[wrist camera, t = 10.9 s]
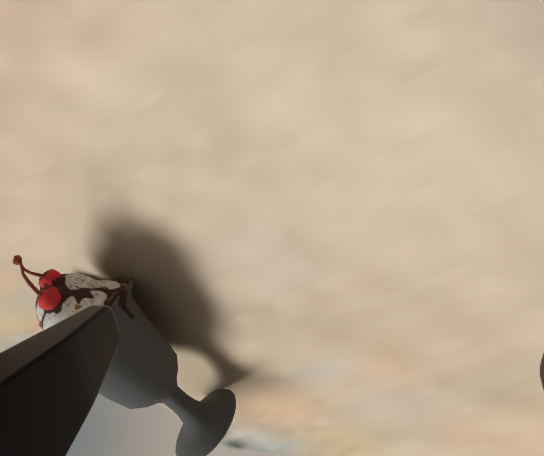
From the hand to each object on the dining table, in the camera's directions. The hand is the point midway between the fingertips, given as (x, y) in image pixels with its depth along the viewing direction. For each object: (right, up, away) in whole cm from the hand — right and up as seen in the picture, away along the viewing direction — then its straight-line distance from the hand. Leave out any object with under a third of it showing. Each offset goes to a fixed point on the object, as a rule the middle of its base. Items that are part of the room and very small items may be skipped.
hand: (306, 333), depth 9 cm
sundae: (-5, -10, +18) cm, 21 cm away
